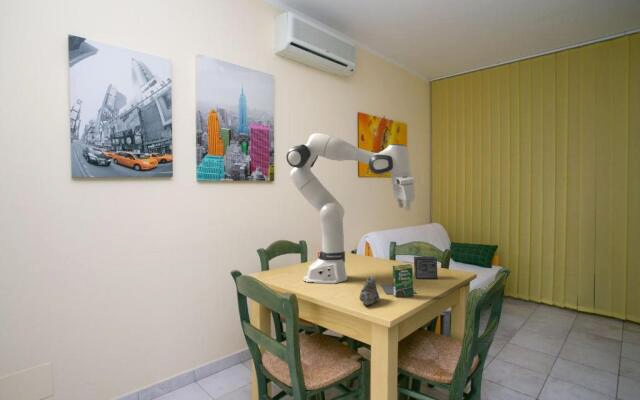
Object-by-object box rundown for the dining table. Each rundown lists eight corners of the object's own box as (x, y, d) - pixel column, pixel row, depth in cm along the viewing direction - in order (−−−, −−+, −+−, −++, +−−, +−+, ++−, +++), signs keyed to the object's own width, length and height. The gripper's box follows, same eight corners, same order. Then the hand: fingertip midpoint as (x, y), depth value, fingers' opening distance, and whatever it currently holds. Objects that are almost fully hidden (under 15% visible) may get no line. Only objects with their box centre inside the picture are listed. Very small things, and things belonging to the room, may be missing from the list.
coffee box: (395, 297, 142) (394, 266, 141) (392, 295, 145) (392, 264, 144) (413, 296, 143) (413, 265, 143) (410, 294, 146) (410, 263, 145)
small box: (434, 276, 177) (434, 256, 176) (437, 279, 170) (437, 258, 170) (413, 276, 178) (413, 255, 177) (416, 279, 171) (416, 258, 171)
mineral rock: (365, 309, 129) (364, 282, 128) (346, 302, 137) (346, 277, 137) (388, 302, 136) (388, 277, 136) (369, 295, 145) (369, 272, 145)
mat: (386, 294, 146) (386, 293, 146) (380, 285, 160) (380, 284, 160) (416, 293, 146) (416, 293, 146) (408, 285, 160) (408, 284, 160)
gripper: (388, 178, 166) (391, 206, 167) (401, 181, 146) (404, 212, 147) (400, 177, 166) (403, 204, 168) (415, 179, 146) (418, 210, 148)
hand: (404, 208), depth 157 cm, fingers open, 8 cm apart
